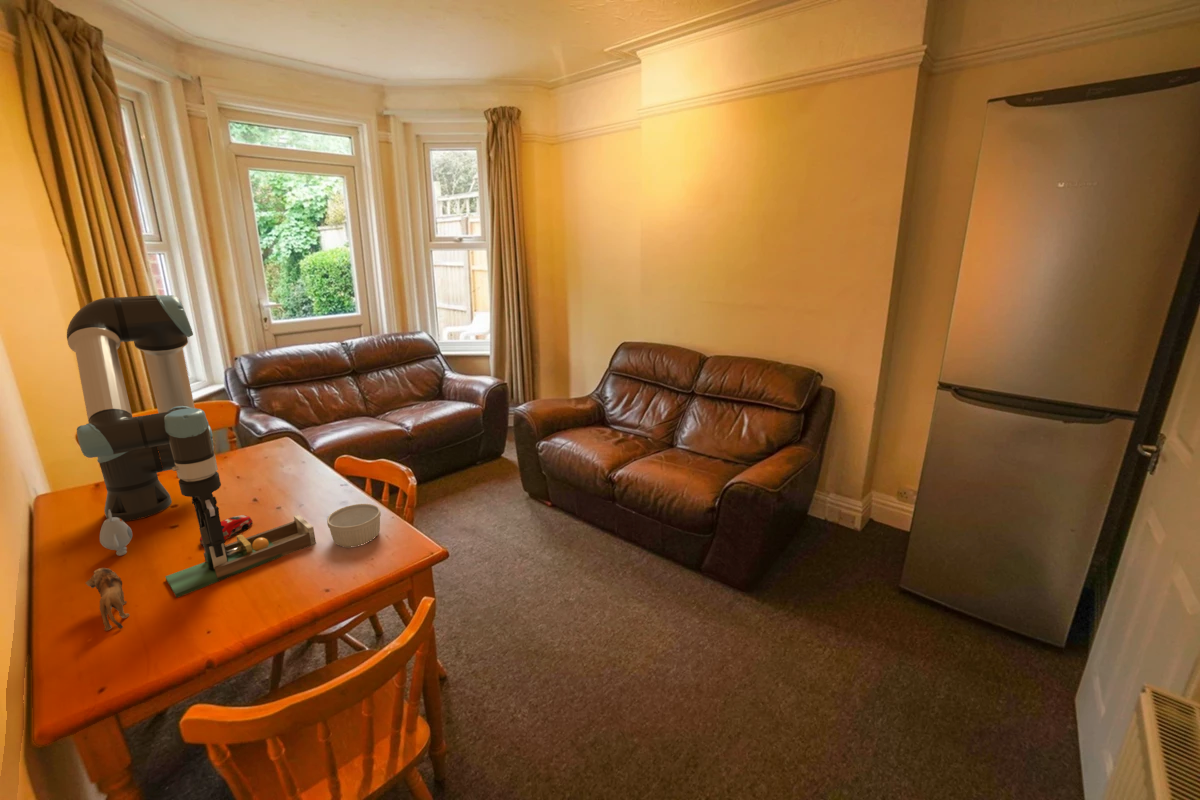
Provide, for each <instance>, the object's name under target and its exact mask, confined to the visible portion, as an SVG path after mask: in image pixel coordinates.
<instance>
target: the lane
mask: <svg viewBox="0 0 1200 800" xmlns="http://www.w3.org/2000/svg"><path fill="white" fill-rule="evenodd" d="M293 520H294V521H291V522H287V523H285V524H282V525H279V526H277V527H273V528H270V529H268V530H265V531H262V532H258V533H257V534H254V535H251V536H248V537H245V538H246V539H247V540H248V541H249V542H250V544H251V546H252V544H253V542H254V540H256V539H257V538H261V537H262V538H266V539H267V540H268V542H269V545H268V547H267V548H264V549H262V550H259V551H255V550H253V548H252V551H253V553H251V554H248V555H245V556H243V554H242V553H239V554H236V555H233V556H230V557H228V562H227V563H224V564H221V565H219V566H216V567H214V569H215V570H214V571H212V570H209V567H208V563H207V559H206V554H205V552H203V556H204V562H201V563H198V564H196V565H193V566H190V567H188V568H185V569H181V570H179V571H177V572H174V573H170V574H168V575H165V579H166V582H167V584H168V585H169V587H170V589H171V591H172V592H173V594H174V596H175V597H176V598H180V597H182V596H184V595H185V596H186V595H188V594H190V593H193V592H195V591H197V590H200V589H203V588H205V587H208V586H211V585H213V584H216V583H218V582H221V581H225V580H226V579H229V578H231V577H234V576H236V575H239V574H241V573H244V572H246V571H249V570H252V569H255V568H256V567H260V566H262V565H265V564H268V563H269V562H270V563H271V562H272V561H274V560H277V559H279V558H283V557H285V556H287V555H290V554H293V553H295V552H298V551H300V550H302V549H306V548H308V547H310V546H313V545H315V543H316V544H317V541H316V535H315V531H314V526H313V525H312V524H311V523H309V522H308V521H307V520H306V519H304V517H302V516H301V515H300V514H295V515H294V516H293ZM236 547H239V546H238V542H237V541H233V542H231V543H228V544H225V549H226V551H228V550H231V549H233V548H236Z"/></svg>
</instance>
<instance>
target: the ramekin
mask: <svg viewBox="0 0 1200 800" xmlns="http://www.w3.org/2000/svg"><path fill="white" fill-rule="evenodd" d="M381 515H382V514H381V509H380V507H379V506H377V505H375V504H373V503H356V504H355V503H354V504H350V505H347V506H344V507H341V508H339V509H337V510H334V511H333V512H331V514H329V516H328V517H327V519H326V524H327V526H328V528H329V531H330V535H331V537H332V540H333V542H334V543H335V544H337V545H338V546H339V545H340V546H339V547H341V546H344V547H343V548H352V547H351V546H358V545H361V544H364V543H366V542H368V541H370V540H372V539H373V538H374V537H376V536H378V535H379V534H380V530H381ZM378 533H379V534H378ZM376 538H377V537H376ZM372 541H373V540H372ZM364 545H365V544H364ZM361 546H362V545H361ZM358 547H359V546H358Z"/></svg>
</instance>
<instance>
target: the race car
mask: <svg viewBox="0 0 1200 800" xmlns="http://www.w3.org/2000/svg"><path fill="white" fill-rule="evenodd" d="M220 521H221V520H220ZM221 526H222V531H223V535H224V539H225V541H226V540H227V539H230V538H231V537H234V536H235V535H236V536H237V534H238V535H239V534H240V533H241V532H242V531H243V532H245V531H246V530H248V529H249V528H250V527H251V526H253V520H252V518H251V517H250V516H248V515H244V514H241V515H236V516H234V515H233V516H231V517H228V518H225V519H223V520H222V521H221ZM199 544H200V545H201V546H203V542H202V538H201V536H200V538H199Z"/></svg>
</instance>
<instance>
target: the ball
mask: <svg viewBox="0 0 1200 800" xmlns="http://www.w3.org/2000/svg"><path fill="white" fill-rule="evenodd" d="M268 545H269V542H268V540H267V539H266V538H262V537H261V538H257V539H256V540H254V542H253V544H252V548H253V550H255V551H259V550H262V549H264V548H267V547H268Z"/></svg>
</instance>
